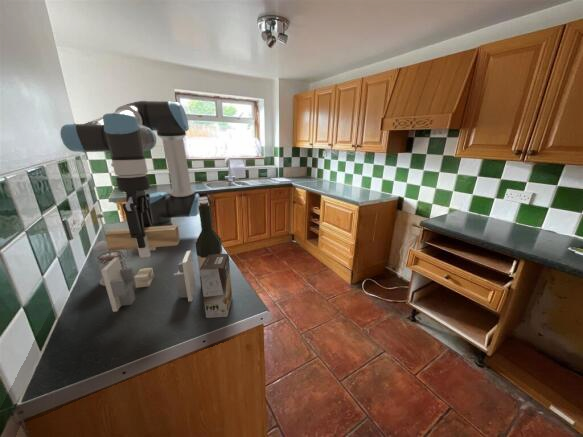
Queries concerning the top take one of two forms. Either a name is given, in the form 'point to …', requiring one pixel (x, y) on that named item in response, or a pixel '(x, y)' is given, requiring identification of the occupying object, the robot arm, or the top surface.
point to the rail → (155, 235)
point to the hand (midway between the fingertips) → (148, 253)
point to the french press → (107, 254)
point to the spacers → (144, 277)
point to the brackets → (123, 280)
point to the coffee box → (216, 285)
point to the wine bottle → (206, 237)
